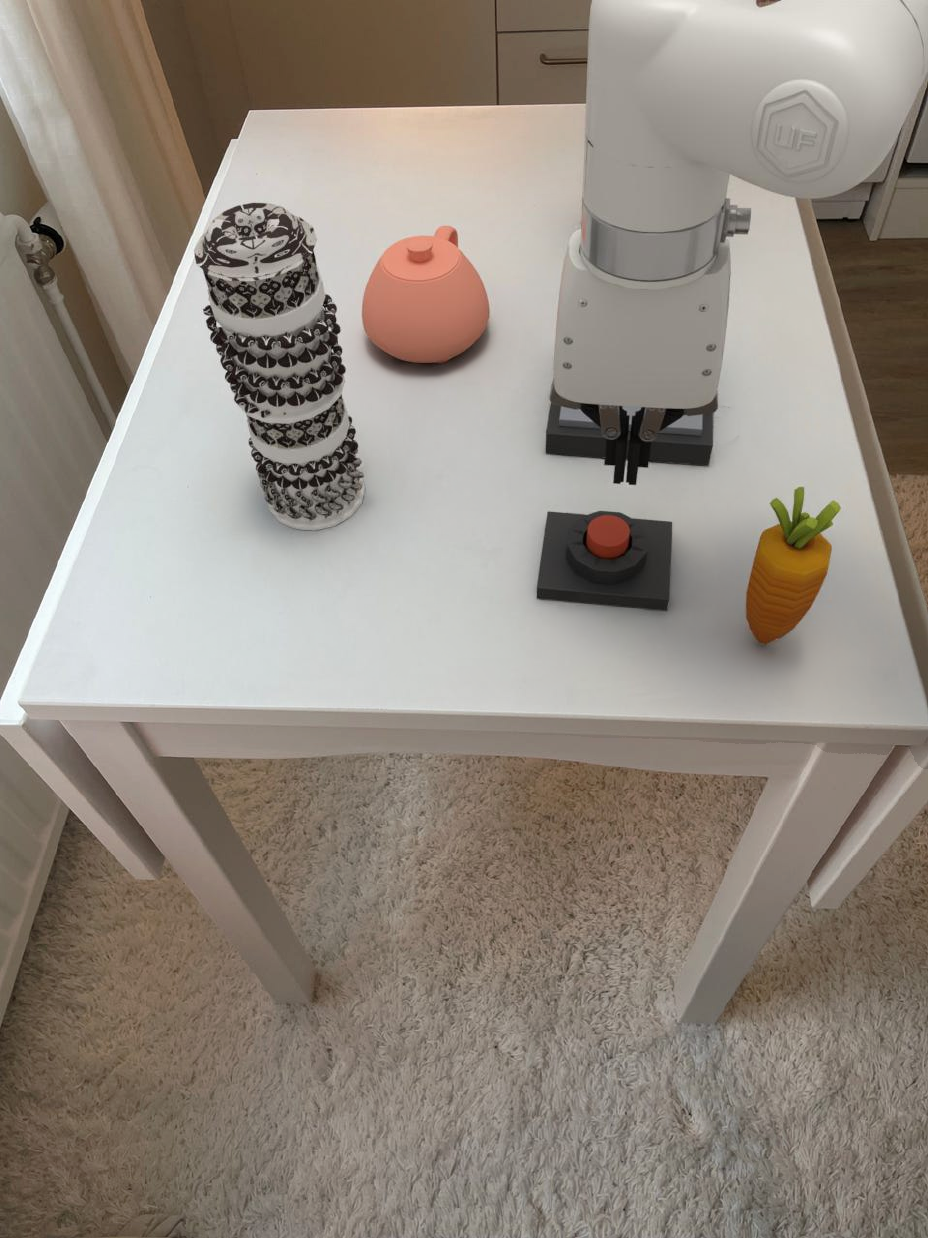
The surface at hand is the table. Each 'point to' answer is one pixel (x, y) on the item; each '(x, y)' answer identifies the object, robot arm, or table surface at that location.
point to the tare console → (605, 564)
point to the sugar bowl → (425, 299)
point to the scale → (672, 445)
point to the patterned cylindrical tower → (283, 361)
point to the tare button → (608, 537)
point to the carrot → (788, 569)
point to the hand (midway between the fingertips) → (625, 469)
